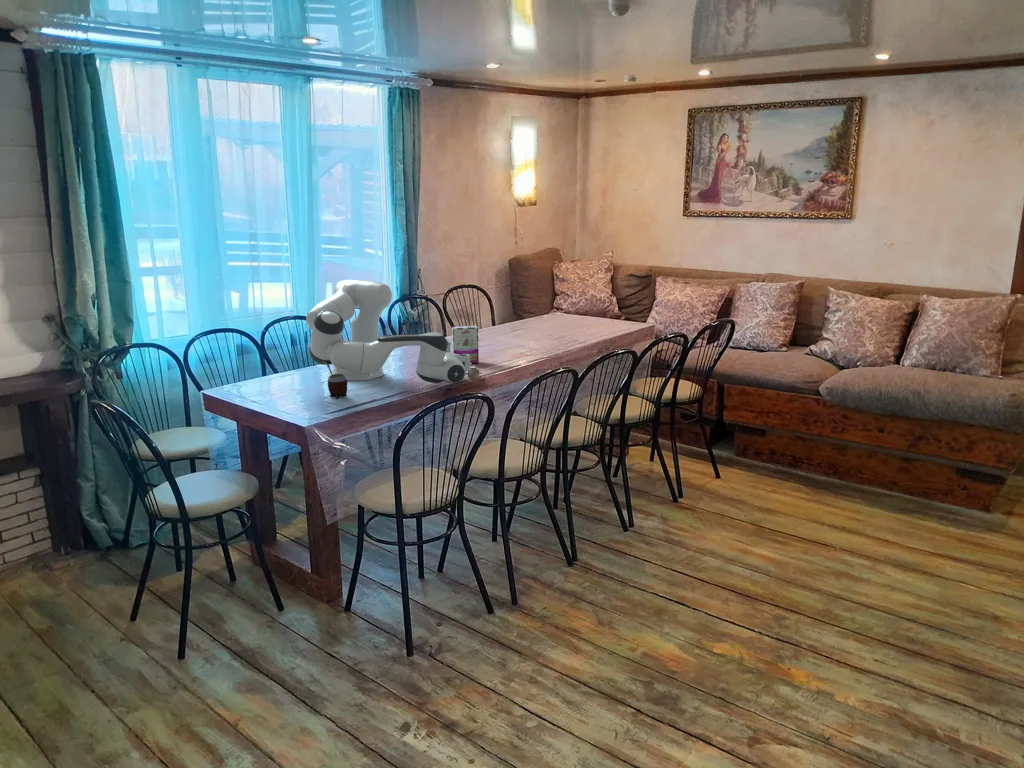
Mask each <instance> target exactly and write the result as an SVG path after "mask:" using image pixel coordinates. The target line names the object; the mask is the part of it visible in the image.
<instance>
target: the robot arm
mask: <svg viewBox="0 0 1024 768" xmlns="http://www.w3.org/2000/svg"><path fill="white" fill-rule="evenodd" d="M392 295H393V293H392V289H391V288H390V286H389V285H387V284H386V283H383V282H380V281H375V280H365V279H364V280H363V279H355V278H354V279H352V278H350V279H344V280H340V281H338V282H337V283H336V285H335V288H334V294H333V295H330V296H329V297H327V298H325V299H324V300H322V301H321V302H319V303H317V304H316V305H314V306H313V308H311V310H310V311H309V312H307V314H306V316H305V321H306V325H307V327H308V328H309V330H310V331H311V334H310V346H309V350H308V351H309V356H310V358H311V360H313V361H314V362H315V363H316V364H319V365H323V366H327V365H326V364H325V363H324V362H326V363H327V364H328V365H329V366H330V365H332V366H333V367H332V368H333V369H332V370H331V372H332V374H333V375H334V374H343V375H344V376H345V377H346V380H347V381H371V380H373V379H376V378H379V377H382V376H384V374H385V373H384V370H383V366H384V365H385V363H387V360H388V359H389V357H390V355H391V353H393V351H394V350H395V349H397V348H398V347H409V346H411V347H412V346H414V347H416V346H419V353H418V358H417V362H416V369H415V373H416V375H417V376H418V378H420V379H421V380H422V381H424V382H427V383H430V384H431V383H432V384H440V383H443V382H445V381H446V382H448V383H452V384H456V383H460V382H461V381H462V380H463V379H464V378H465V377H466V376H465V375H466V374H465V372H466V371H469V370H470V365H471V364H470V355H469V354H453V352H450V353H449V352H447V353H445V352H446V349H447V346H448V342H447V340H448V339H447V338H446V337H445V335H444V334H442V333H440V332H436V331H434V332H433V331H432V332H424V333H405V334H403V333H402V334H388V335H387V334H385V335H381V336H379V326H380V325H379V322H380V318H381V315H382V313H383V311H384V310H385V309H386V308H387V307H388V306H389V305H390V304H391V301H392V299H393V296H392ZM356 309H359V312H358V314H357V316H356V317H355V318H353V317H354V315H355V313H356V311H355V310H356ZM352 318H353V319H352ZM350 319H352V320H351V322H350V341H349V340H345V339H343V333H344V332H343V331H344V327H345V325H344V324H345V322H347V321H348V320H350ZM322 361H324V362H322ZM330 376H331V373H330V371H329V372H328V373H327V377H328V378H329V377H330ZM328 378H327V379H328Z"/></svg>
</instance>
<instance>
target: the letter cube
mask: <svg viewBox="0 0 1024 768" xmlns="http://www.w3.org/2000/svg"><path fill="white" fill-rule="evenodd" d="M479 370H480V369H479V368H478V366H476V367H475V368H470V370H469V371H468V374H467V378H468V377H469V378H470V379H471V380H479V379H480V373H479ZM469 378H468V379H469ZM470 379H469V380H470Z"/></svg>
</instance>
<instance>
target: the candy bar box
mask: <svg viewBox="0 0 1024 768" xmlns="http://www.w3.org/2000/svg"><path fill="white" fill-rule="evenodd" d="M451 335H452V336H451V338H452V339H451V340H452V343H451V346H452V348H451V349H452V353H453V354H469V355H470V363H478V364H479V361H480V360H479V327H478V325H460V326H452V327H451Z"/></svg>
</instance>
